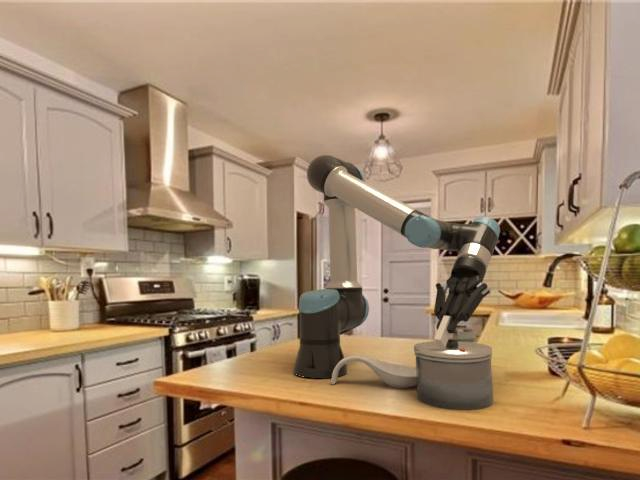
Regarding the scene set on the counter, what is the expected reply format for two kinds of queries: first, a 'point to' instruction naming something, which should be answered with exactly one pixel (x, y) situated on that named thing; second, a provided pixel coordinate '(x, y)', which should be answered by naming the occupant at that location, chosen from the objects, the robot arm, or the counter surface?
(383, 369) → the spoon rest
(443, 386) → the cooker pot
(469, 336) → the food container
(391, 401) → the counter surface
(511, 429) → the counter surface
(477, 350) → the lid
